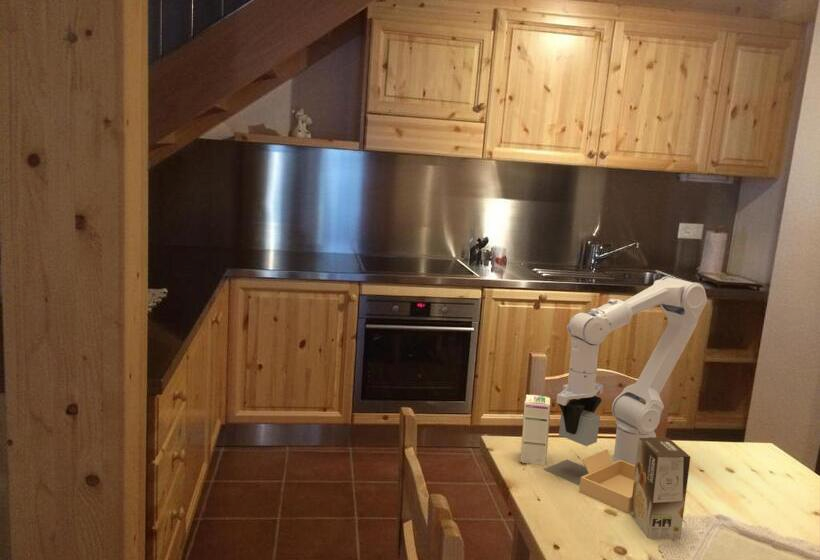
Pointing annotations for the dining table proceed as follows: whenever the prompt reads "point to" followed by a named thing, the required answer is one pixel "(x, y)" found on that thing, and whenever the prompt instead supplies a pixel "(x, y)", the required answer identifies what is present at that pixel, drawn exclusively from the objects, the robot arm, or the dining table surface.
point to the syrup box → (535, 429)
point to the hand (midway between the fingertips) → (576, 430)
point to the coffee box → (659, 488)
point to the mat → (568, 471)
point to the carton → (608, 481)
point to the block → (583, 428)
